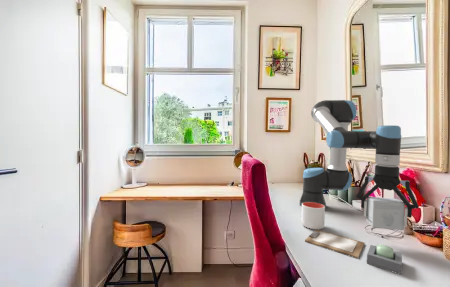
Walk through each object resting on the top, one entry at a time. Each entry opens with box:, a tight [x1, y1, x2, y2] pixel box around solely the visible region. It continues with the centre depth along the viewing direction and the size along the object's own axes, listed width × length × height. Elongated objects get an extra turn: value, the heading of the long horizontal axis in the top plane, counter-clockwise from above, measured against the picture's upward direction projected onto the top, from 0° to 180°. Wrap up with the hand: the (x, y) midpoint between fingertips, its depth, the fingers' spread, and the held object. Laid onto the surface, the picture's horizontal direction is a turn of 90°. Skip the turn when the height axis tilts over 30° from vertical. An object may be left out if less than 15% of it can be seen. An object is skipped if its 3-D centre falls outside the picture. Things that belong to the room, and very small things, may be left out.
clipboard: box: [304, 229, 365, 259], centre depth 83 cm, size 18×14×1 cm
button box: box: [366, 244, 403, 275], centre depth 70 cm, size 9×9×3 cm
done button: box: [376, 244, 394, 260], centre depth 70 cm, size 4×4×3 cm
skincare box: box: [366, 196, 406, 231], centre depth 83 cm, size 10×6×10 cm, turn 76°
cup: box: [300, 202, 326, 230], centre depth 99 cm, size 10×10×10 cm
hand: (384, 220), depth 83 cm, fingers closed on skincare box, 12 cm apart
